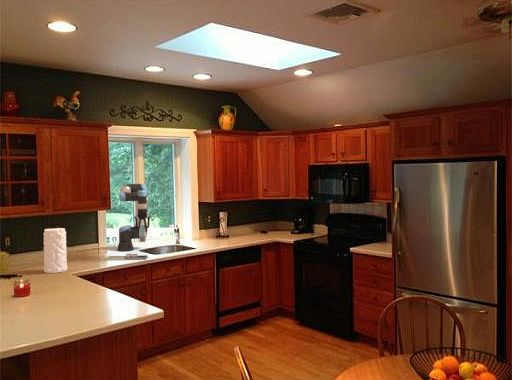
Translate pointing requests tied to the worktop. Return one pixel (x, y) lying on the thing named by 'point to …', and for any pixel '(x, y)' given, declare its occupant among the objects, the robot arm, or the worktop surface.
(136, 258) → the slot channel
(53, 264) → the paper towel roll
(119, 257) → the tray
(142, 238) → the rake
